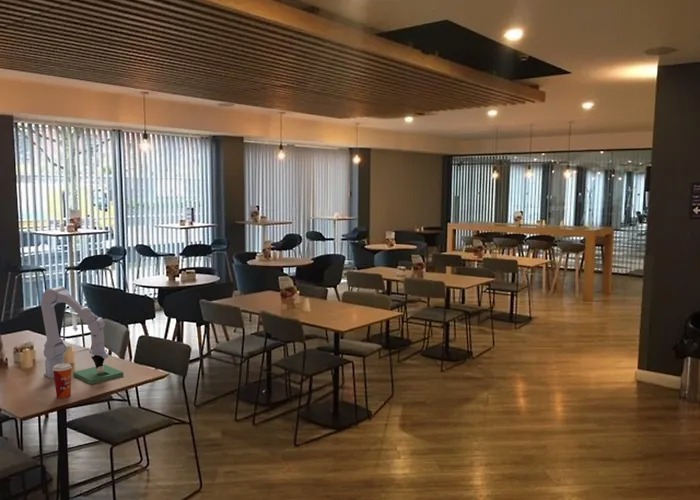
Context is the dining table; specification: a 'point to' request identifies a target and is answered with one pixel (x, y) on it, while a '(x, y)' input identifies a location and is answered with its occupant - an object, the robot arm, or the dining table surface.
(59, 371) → the paper cup
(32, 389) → the dining table surface
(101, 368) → the ball
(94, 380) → the putting deck
